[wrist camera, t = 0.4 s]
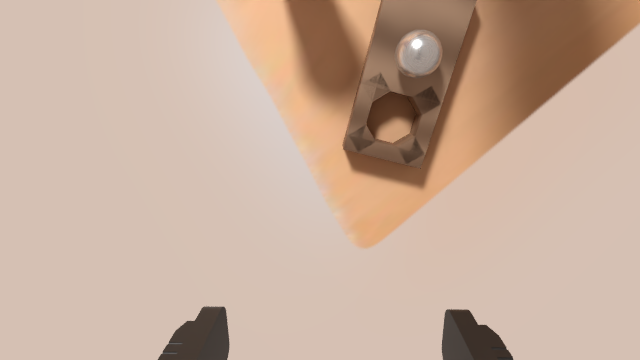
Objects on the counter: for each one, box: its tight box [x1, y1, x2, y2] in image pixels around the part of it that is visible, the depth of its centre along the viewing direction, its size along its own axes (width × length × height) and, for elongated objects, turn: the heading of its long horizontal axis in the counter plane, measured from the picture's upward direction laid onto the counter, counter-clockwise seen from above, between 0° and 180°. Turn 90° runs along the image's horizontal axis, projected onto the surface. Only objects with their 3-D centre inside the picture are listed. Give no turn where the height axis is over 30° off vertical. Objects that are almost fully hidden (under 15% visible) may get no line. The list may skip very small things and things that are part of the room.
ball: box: [395, 29, 443, 78], centre depth 31 cm, size 4×4×4 cm
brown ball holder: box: [343, 0, 477, 169], centre depth 34 cm, size 17×8×2 cm, turn 166°
